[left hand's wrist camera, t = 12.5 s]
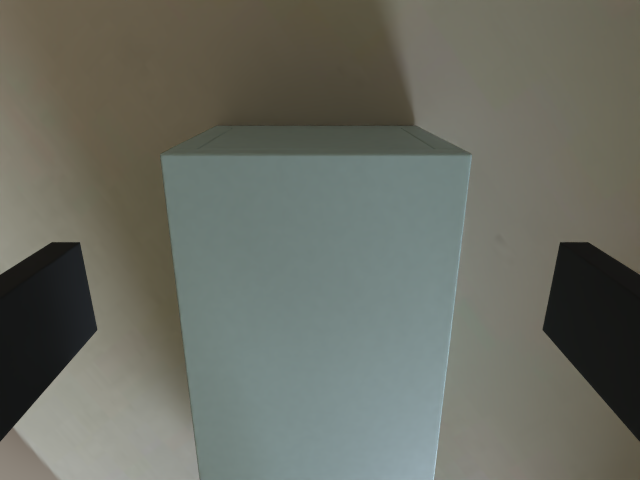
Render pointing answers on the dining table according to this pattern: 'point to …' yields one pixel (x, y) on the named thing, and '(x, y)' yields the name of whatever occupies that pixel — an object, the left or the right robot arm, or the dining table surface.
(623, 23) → the dining table surface
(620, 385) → the left robot arm
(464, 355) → the dining table surface
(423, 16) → the dining table surface
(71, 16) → the dining table surface
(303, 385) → the cabinet
